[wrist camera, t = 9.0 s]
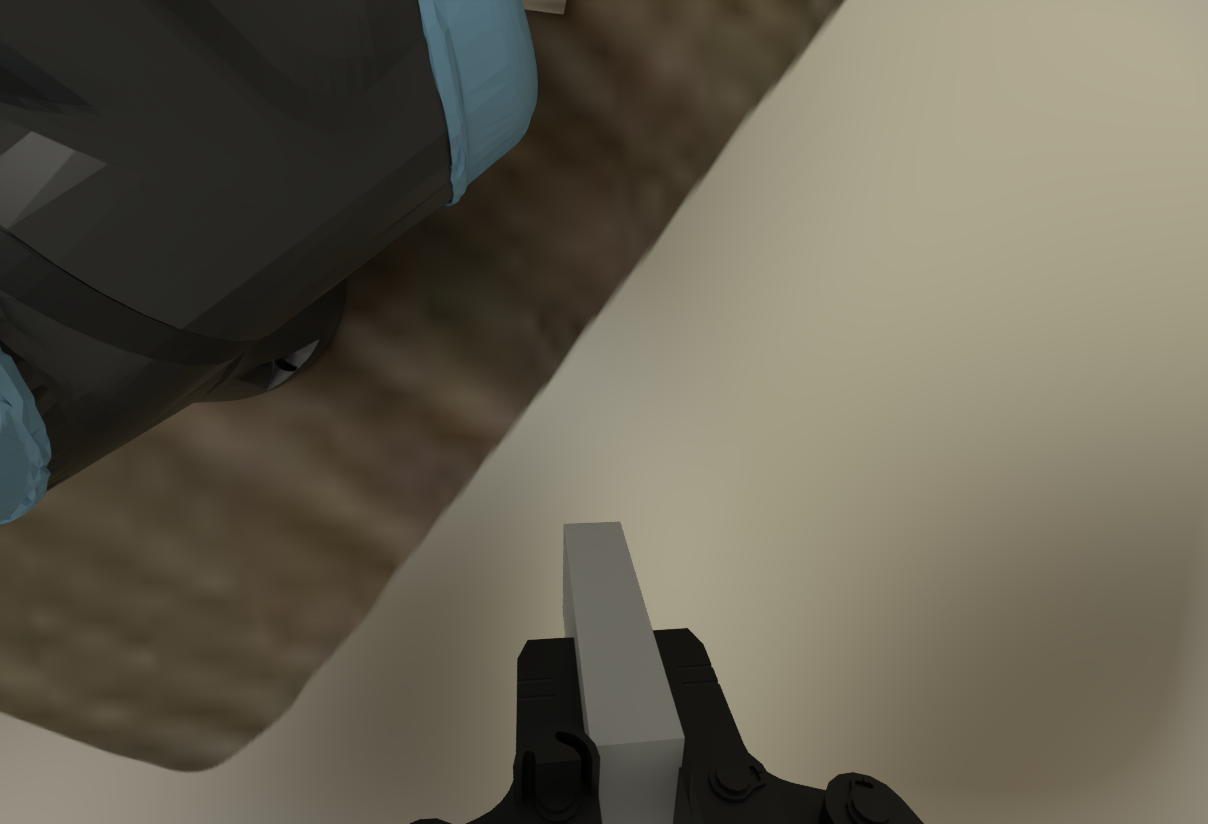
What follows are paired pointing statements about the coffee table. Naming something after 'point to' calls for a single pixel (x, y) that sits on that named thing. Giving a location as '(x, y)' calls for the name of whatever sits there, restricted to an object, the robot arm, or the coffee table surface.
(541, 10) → the block
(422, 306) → the coffee table surface
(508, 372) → the coffee table surface
